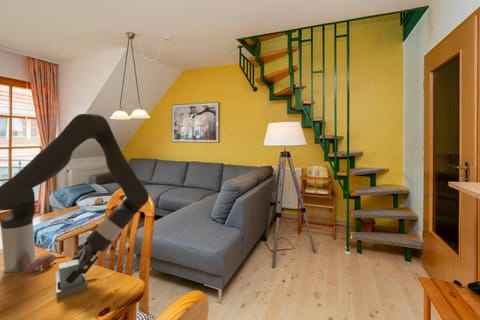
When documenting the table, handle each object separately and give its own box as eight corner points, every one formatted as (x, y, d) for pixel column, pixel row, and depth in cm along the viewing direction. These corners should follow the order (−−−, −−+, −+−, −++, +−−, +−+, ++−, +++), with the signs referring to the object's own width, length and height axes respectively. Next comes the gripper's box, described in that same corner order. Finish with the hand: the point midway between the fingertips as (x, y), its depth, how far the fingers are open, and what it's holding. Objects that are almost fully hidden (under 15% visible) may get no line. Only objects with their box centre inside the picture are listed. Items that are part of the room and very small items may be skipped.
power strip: (56, 281, 87) (55, 270, 86) (82, 273, 92) (82, 263, 91) (57, 303, 75) (56, 291, 75) (87, 293, 80) (86, 281, 80)
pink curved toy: (28, 282, 89) (34, 266, 88) (19, 275, 90) (25, 260, 89) (54, 268, 99) (59, 254, 98) (45, 262, 99) (51, 248, 98)
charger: (60, 288, 80) (58, 263, 80) (81, 282, 84) (80, 258, 83) (60, 294, 77) (59, 269, 76) (83, 287, 81) (81, 263, 80)
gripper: (93, 222, 89) (56, 262, 83) (99, 234, 78) (57, 281, 72) (110, 233, 93) (75, 271, 87) (118, 246, 82) (79, 291, 76)
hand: (67, 276), depth 80 cm, fingers open, 8 cm apart
